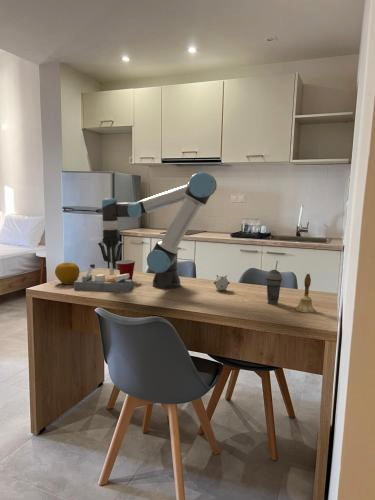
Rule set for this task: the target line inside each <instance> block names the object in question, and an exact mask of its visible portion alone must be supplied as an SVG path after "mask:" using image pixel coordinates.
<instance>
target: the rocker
mask: <svg viewBox="0 0 375 500" xmlns="http://www.w3.org/2000/svg"><path fill="white" fill-rule="evenodd" d="M129 277H130V276H129V273H127V274H122V275H120V274H117V275H116V276H114V278H115V280H116V281H117V280H122V279H128V278H129Z"/></svg>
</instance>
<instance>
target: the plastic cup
mask: <svg viewBox="0 0 375 500" xmlns="http://www.w3.org/2000/svg"><path fill="white" fill-rule="evenodd" d="M135 264H136V259H123V260H118V261H116V265H117V266H118V271H119V275H122V274H127V273H129V276H130V277H129V278H128V279H125V280H133V276H134V270H135Z"/></svg>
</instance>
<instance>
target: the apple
mask: <svg viewBox="0 0 375 500" xmlns="http://www.w3.org/2000/svg"><path fill="white" fill-rule="evenodd" d="M54 275H55V276H56V278H57V279H58V280H59V282H60V283H61V284H63V285H74V282H75V281H77V280H79V277H80V267H79V265H78V264H76V263H74V262H62V263H59V264H57V265H56V267H55V270H54Z"/></svg>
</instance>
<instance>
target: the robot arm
mask: <svg viewBox="0 0 375 500" xmlns="http://www.w3.org/2000/svg"><path fill="white" fill-rule="evenodd" d="M217 185H218V184H217V180H216V179H215V177H214V176H213V175H211V174H210V173H209V172H206V171H198V172H196V173H194V174H192V175H191V177H190V178H189V181H188V182H187V184H184V185H182V186H179V187H176V188H173V189H169V190H168V191H164V192H161V193H158V194H155V195H153V196H150V197H147V198H143V199H140V200H137V201H132V202H129V201H128V202H127V201H126V202H121V201H120V202H118V199H117V198H103V199H102V200H101V210H102V211H101V213H102V216H101V217H102V229H103V230H102V240H101V241H100V242H98V244H97V245H98V246H99V248H100V252H101V255H102V259H103V261H104V262H107V268H108V269H109V276H113V275H115V269H116V267H117V266H116V265H117V263H116V262H118V261H120V258H121V252H122V247H123V246H124V242H122V241H120V239H119V230H118V228H119V226H118V225H119V219H118V218H132V219H135V218H140V217H141V216H143V215H146V214H149V213H151V212H155V211H158V210H160V209H164V208H167V207H170V206H173V205H175V204H179V203H181V205H180V206H179V207H178V210H177V212H176V213H175V215H174V217H173V219H172V221H171V223H170V224H169V226H168V228H167V230H166V232H165V234H164V235H163V237H162V239H160V240H157V241H156V243H155V245H154V247H153V248H152V250H151V251H150V252H148V254H147V256H146V265H147V266H148V268H149V269H150V271H152V272H154V276H153V280H152V287H153V288H157V289H166V290H167V289H175V288H178V287H179V288H180V286H181V279H180V276H179V273H178V255H179V254H178V253H179V249H178V247H179V245H180V243H181V242H182V240H183V238H184V237H185V234H186V232H187V231H188V229H189V228H190V226H191V224H192V223H193V221H194V219H195V218H196V215H197V214H198V212H199V210H200V209H201V207H203V206H206V204H207V203H208V201H209V199H210V197H211V196H212V195H214V193H215V192H216V190H217ZM116 246H118V247H117V250H116ZM105 247H106V248H105ZM116 251H117V252H116Z"/></svg>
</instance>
